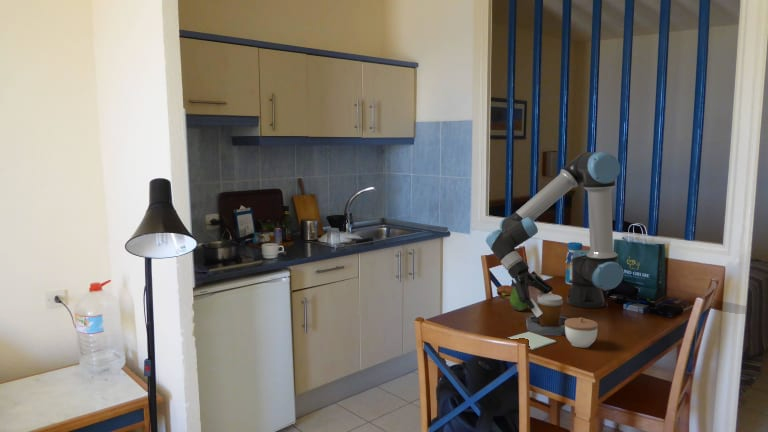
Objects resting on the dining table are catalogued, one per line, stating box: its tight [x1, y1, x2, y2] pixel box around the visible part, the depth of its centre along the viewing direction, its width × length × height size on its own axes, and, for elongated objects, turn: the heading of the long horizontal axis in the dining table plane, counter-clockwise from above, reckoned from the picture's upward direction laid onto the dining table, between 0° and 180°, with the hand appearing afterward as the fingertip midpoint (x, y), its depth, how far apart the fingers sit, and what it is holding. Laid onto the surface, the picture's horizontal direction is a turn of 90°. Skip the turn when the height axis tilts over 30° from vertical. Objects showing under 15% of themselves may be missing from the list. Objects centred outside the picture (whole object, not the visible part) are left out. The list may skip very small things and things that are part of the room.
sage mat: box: [508, 331, 557, 350], centre depth 192 cm, size 12×12×1 cm
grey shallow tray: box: [525, 314, 571, 337], centre depth 205 cm, size 16×16×3 cm
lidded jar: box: [565, 317, 599, 349], centre depth 188 cm, size 11×11×9 cm
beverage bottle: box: [564, 241, 583, 286], centre depth 271 cm, size 8×8×20 cm
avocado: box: [509, 285, 530, 312], centre depth 228 cm, size 8×8×12 cm
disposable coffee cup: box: [536, 293, 564, 326], centre depth 205 cm, size 10×10×12 cm
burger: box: [496, 284, 514, 300], centre depth 250 cm, size 10×9×5 cm
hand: (549, 311), depth 204 cm, fingers open, 13 cm apart
